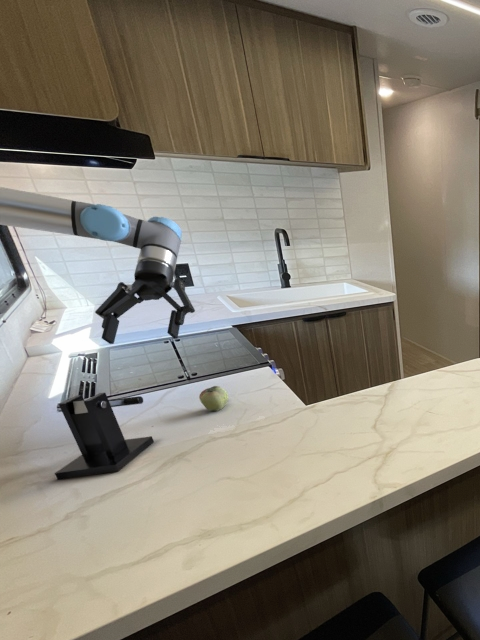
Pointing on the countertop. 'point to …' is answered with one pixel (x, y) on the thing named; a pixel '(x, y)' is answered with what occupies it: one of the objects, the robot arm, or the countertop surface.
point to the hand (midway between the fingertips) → (140, 338)
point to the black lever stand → (98, 439)
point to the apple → (214, 398)
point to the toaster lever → (81, 408)
